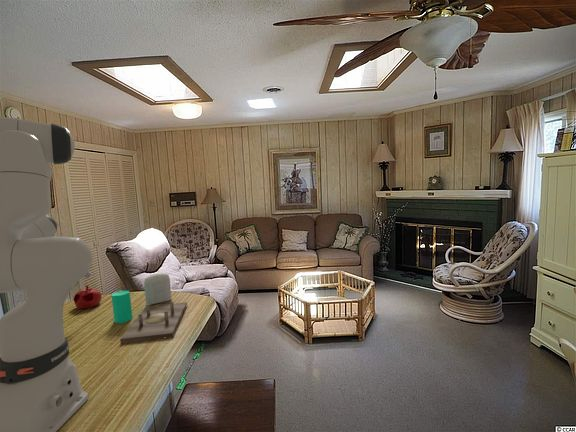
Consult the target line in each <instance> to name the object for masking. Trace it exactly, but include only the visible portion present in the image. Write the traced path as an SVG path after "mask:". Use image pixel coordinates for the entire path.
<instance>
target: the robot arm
mask: <svg viewBox="0 0 576 432" xmlns="http://www.w3.org/2000/svg"><path fill="white" fill-rule="evenodd" d="M75 146H76V145H75V141H74V138H73V136H72V134H71V132H70V130H69V129H68V128H67V127H65V126H62V125H59V124H55V123H51V124H49V123H46V122H45V123H44V122H41V121H36V120H28V119H23V118H22V119H20V118H18V117H9V116H8V117H7V116H5V117H4V116H0V294H4V293H11V292H17V291H18V292H19V291H26V294H27V297H26V300H25V301H23V302H22V303H19V304H17V305H16V306H14V307H13V308H11V309H10V310H8V311H7V312H6V313H4V314H3V315H2V316H1V318H0V432H58V430H59V429H61V428H62V427H63V425H64V424H65V423H66V422H67V421H68V420H69V419H70V418H71V417H73V415H74V414H75V413H76V412H77V411H78V410H79V409H80V408H81V407H82V406H83V405H84V404H85V403H86V402H87V400H88V399H89V395H88V393H87V392H86V391H84V390H83V387H82V383H81V380H80V376H79V372H78V368H77V366H76V364H74V363H73V361H72V360H71V358H70V356H69V354H70V344H69V342H68V341H69V340H68V338H67V337H66V336H65V328H64V327H65V326H64V307H65V302H66V299H67V297H68V295H69V293H70V292H71V290H72V289H73V288H74V287H76V286H77V285H79V281H81V279H83V278H84V277H85V278H86V279H90V278H91V277H92V276H93V274H92V272H90V269H91V267H92V264H93V251H92V249H91V247H90V246H89V244H88V243H87V242H86V241H85V240H83V239H82V238H80V237H75V236H73V237H72V236H58V235H57V236H56V235H55V234H56V233H57V231H58V222H56V220H55V219H54V218H53V217H51V216H50V215H49V213H50V211H51V210H52V197H51V195H52V194H51V180H52V175H53V169H52V164H54V165H62V164H66V163H68V162H70V161H71V160H72V157H73V155H74V153H75V149H76V147H75ZM54 235H55V236H54Z"/></svg>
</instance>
